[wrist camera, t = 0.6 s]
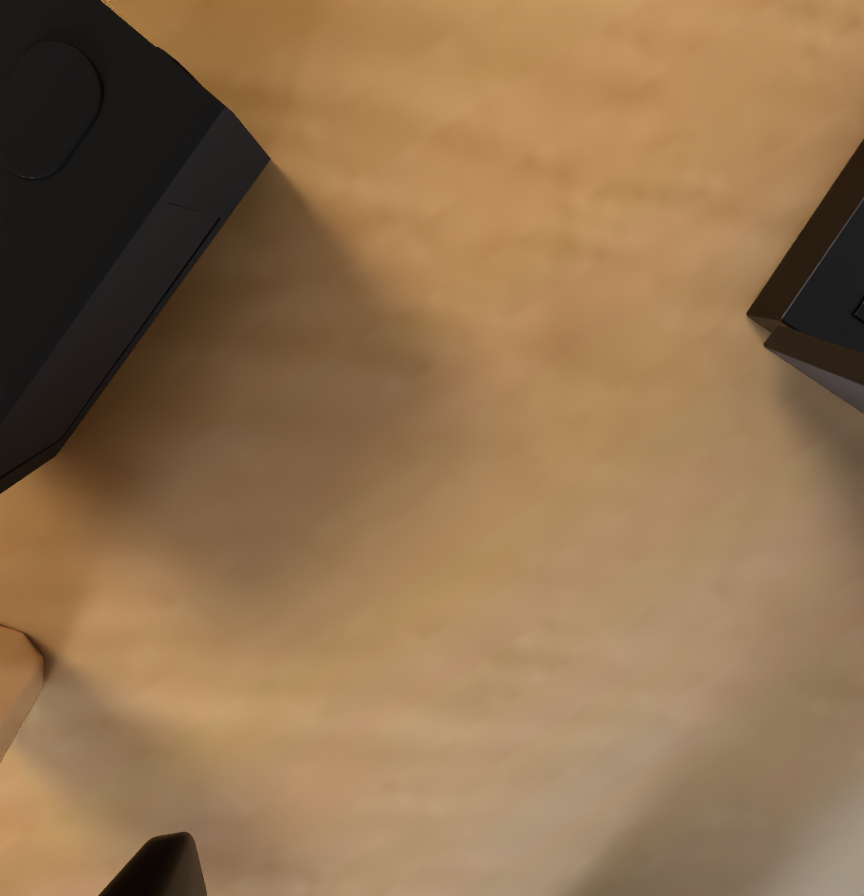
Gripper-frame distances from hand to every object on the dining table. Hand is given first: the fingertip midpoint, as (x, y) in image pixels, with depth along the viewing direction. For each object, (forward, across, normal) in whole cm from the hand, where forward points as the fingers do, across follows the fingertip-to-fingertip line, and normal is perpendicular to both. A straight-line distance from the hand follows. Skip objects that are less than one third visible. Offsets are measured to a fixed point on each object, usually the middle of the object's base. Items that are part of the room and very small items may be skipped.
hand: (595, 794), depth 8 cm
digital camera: (+14, +9, -7) cm, 18 cm away
